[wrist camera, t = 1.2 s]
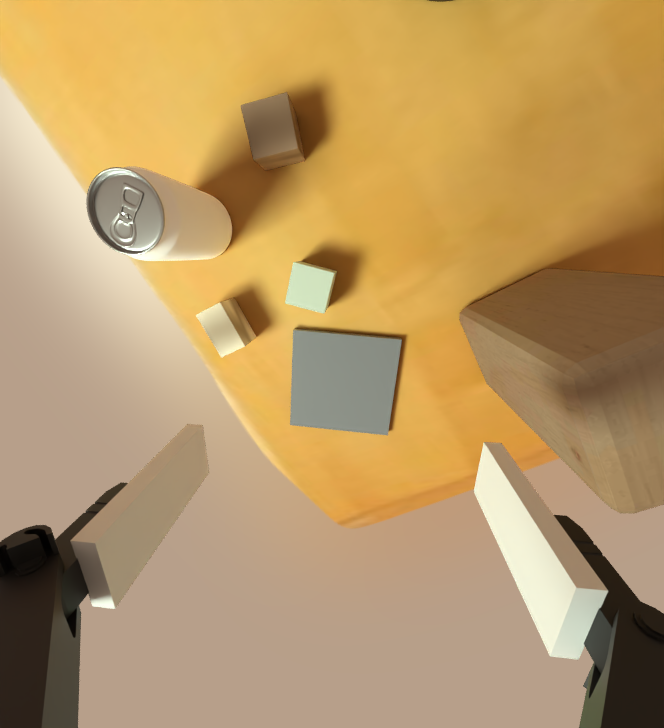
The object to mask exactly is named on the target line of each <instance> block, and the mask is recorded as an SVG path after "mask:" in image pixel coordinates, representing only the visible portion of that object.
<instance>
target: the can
mask: <svg viewBox="0 0 664 728" xmlns="http://www.w3.org/2000/svg"><path fill="white" fill-rule="evenodd" d="M87 212H88V216H89V220H90V222H91V224H92V226H93V229H94V230H95V232H96V233H97V235H98V236H99V237H100V239H101V240H102V241H103V242H104V243H105V244H106V245H108V246H109V247H110V248H112V249H113V250H115V251H117V252H119V253H122V254H126V255H128V256H130V257H132V258H135V259H139V260H145V261H174V260H202V259H211V258H215V257H217V256H219V255H220V254H222V253H223V252H224V251H225V250H226V248H227V247H228V245H229V243H230V240H231V237H232V223H231V219H230V216H229V214H228V212H227V210H226V208H225V207H224V205H223V204H222V203H221V202H220V201H219V200H218V199H216V198H215V197H213V196H212V195H210V194H207V193H205V192H203V191H200V190H198V189H195V188H193V187H191V186H188V185H186V184H183V183H181V182H178V181H176V180H173V179H171V178H168V177H166V176H163V175H161V174H158V173H155V172H153V171H150V170H147V169H144V168H139V167H124V168H121V167H114V168H109V169H106V170H104V171H102V172H100V173H99V174H98V175H97V176H96V177H95V178H94V179H93V181H92V182H91V184H90V186H89V189H88V193H87Z"/></svg>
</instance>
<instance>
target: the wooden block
mask: <svg viewBox="0 0 664 728" xmlns="http://www.w3.org/2000/svg"><path fill="white" fill-rule="evenodd" d="M460 322H461V325H462V327H463V329H464V332H465V334H466V336H467V339H468V341H469V343H470V346H471V348H472V350H473V353H474V355H475V357H476V360H477V362H478V364H479V367H480V369H481V371H482V374H483V376H484V378H485V381H486V383H487V384H488V385H489V386H490V387H491V388H492V389H493V390H494V391H495V392H496V393H497V394H498V395H499V396H500V397H501V398H502V399H503V400H504V401H505V402H506V403H507V405H508V406H509V407H510V408H511V409H512V410H513V411H514V412H515V413H516V414H517V415H518V416H519V417H520V418H521V419H522V420H523V421H524V422H525V423H526V424H527V425H528V426H529V427H530V428H531V429H532V430H533V431H534V432H535V433H536V434H537V435H538V436H539V437H540V438H541V439H542V440H543V441H544V442H545V443H546V444H547V445H548V446H549V447H550V448H551V449H552V450H553V451H554V452H555V453H556V454H557V455H558V456H559V457H560V458H561V459H562V460H563V461H564V462H565V463H566V464H567V465H568V466H569V467H570V468H571V469H572V470H573V471H574V472H575V473H576V474H577V475H578V476H579V477H580V478H581V479H582V480H583V481H584V482H585V483H586V485H587V486H589V488H590V489H592V491H593V492H595V494H596V495H597V496H598V497H599V498H600V499H601V500H602V501H604V502H605V503H606V504H607V505H608V506H609V507H611V508H612V509H614V510H616V511H617V512H619V513H637V512H640V511H644V510H647V509H650V508H654V507H657V506H660V505H664V276H651V275H637V274H623V273H609V272H595V271H581V270H567V269H553V268H552V269H544V270H542V271H540V272H538V273H536V274H534V275H531V276H529V277H527V278H525V279H523V280H521V281H519V282H517V283H515V284H513V285H511V286H509V287H507V288H505V289H502V290H500V291H498V292H496V293H494V294H492V295H490V296H488V297H486V298H484V299H482V300H480V301H478V302H476V303H473V304H471V305H469V306H467V307H465V308H464V309H463V310H462V311H461V312H460Z"/></svg>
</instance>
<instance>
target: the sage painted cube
mask: <svg viewBox="0 0 664 728" xmlns="http://www.w3.org/2000/svg"><path fill="white" fill-rule="evenodd" d="M336 273H337V271H335V270H331V269H328V268H324V267H320V266H316V265H313V264H309V263H305V262H301V261H299V262H293V266H292V271H291V276H290V281H289V286H288V291H287V296H286V301H285V303H286V304H290V305H294V306H297V307H301V308H305V309H309V310H312V311H316V312H320V313H325V312H326V310H327V308H328V306H329V302H330V297H331V293H332V289H333V285H334V281H335V277H336Z"/></svg>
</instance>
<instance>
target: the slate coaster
mask: <svg viewBox="0 0 664 728" xmlns="http://www.w3.org/2000/svg"><path fill="white" fill-rule="evenodd" d="M401 342H402V339H401V338H396V337H384V336H373V335H362V334H351V333H339V332H328V331H317V330H306V329H294V330H293V357H292V388H291V419H290V425H295V426H305V427H314V428H324V429H333V430H343V431H352V432H362V433H371V434H381V435H388V430H389V424H390V417H391V410H392V403H393V397H394V390H395V383H396V376H397V369H398V363H399V356H400V349H401Z"/></svg>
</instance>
